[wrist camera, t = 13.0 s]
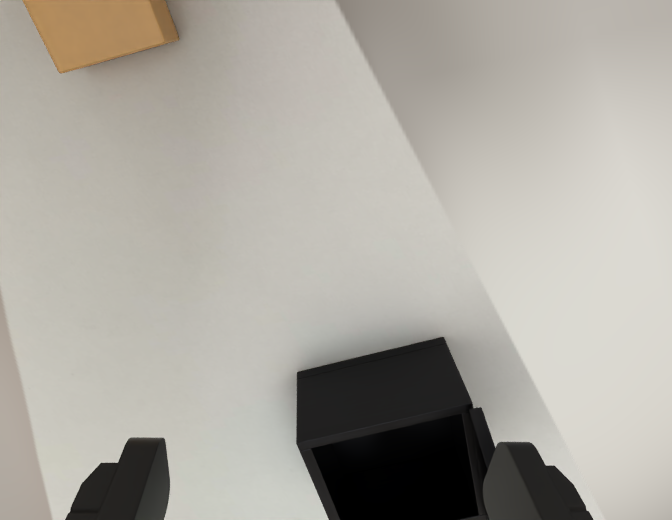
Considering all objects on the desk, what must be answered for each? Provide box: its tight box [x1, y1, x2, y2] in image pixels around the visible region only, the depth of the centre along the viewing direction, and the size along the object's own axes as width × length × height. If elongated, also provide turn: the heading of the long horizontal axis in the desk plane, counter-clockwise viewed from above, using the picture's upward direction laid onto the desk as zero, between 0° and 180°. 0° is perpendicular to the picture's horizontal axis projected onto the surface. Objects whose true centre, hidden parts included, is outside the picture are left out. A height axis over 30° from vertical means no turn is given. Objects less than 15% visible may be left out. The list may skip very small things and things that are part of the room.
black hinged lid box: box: [296, 337, 486, 520], centre depth 36 cm, size 12×13×7 cm
